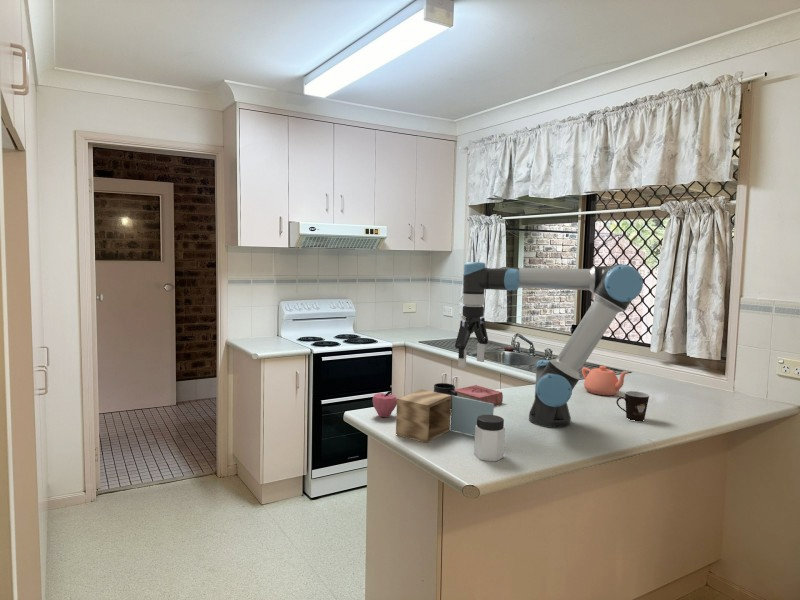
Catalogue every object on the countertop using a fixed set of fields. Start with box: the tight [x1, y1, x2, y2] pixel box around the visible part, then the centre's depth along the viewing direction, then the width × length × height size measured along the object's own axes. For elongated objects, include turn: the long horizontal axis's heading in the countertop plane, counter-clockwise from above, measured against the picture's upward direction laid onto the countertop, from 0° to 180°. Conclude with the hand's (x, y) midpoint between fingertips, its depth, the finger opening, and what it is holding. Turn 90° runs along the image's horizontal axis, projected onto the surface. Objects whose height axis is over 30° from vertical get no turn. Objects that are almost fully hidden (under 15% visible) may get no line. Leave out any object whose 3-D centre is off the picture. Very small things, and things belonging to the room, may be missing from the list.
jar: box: [473, 414, 506, 462], centre depth 172 cm, size 9×8×12 cm
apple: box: [372, 390, 398, 418], centre depth 208 cm, size 10×9×10 cm
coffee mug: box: [616, 390, 650, 422], centre depth 216 cm, size 12×9×10 cm
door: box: [449, 395, 495, 437], centre depth 190 cm, size 1×16×12 cm, turn 57°
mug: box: [433, 382, 457, 403], centre depth 219 cm, size 8×12×10 cm
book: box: [455, 384, 504, 406], centre depth 232 cm, size 14×15×5 cm
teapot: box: [581, 365, 629, 396], centre depth 254 cm, size 22×15×12 cm
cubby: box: [395, 389, 451, 444], centre depth 192 cm, size 12×16×12 cm
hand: (471, 364), depth 201 cm, fingers open, 13 cm apart
